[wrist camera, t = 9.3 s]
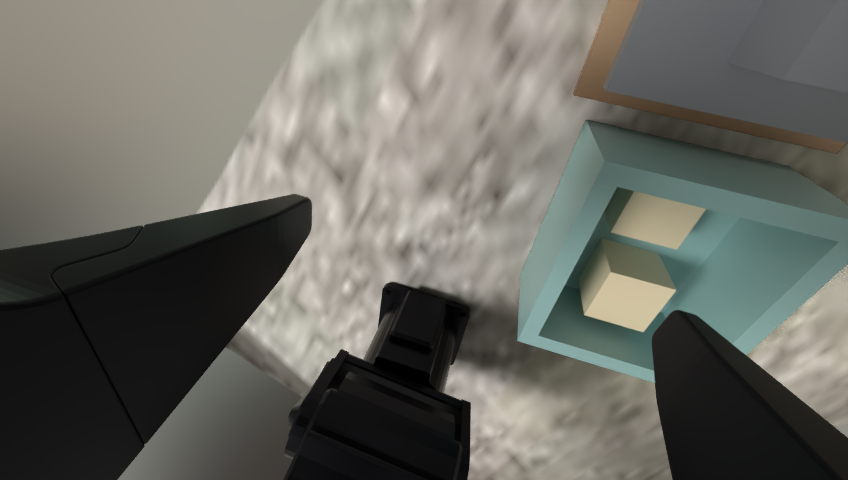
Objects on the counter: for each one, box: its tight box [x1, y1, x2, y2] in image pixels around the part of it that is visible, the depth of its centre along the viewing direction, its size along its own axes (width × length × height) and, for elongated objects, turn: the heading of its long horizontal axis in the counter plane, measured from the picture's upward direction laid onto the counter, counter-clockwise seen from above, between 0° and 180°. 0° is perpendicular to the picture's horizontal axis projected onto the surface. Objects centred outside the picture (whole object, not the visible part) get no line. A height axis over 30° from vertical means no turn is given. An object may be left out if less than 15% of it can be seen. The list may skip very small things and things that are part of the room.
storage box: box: [517, 120, 848, 383], centre depth 17 cm, size 10×9×6 cm
